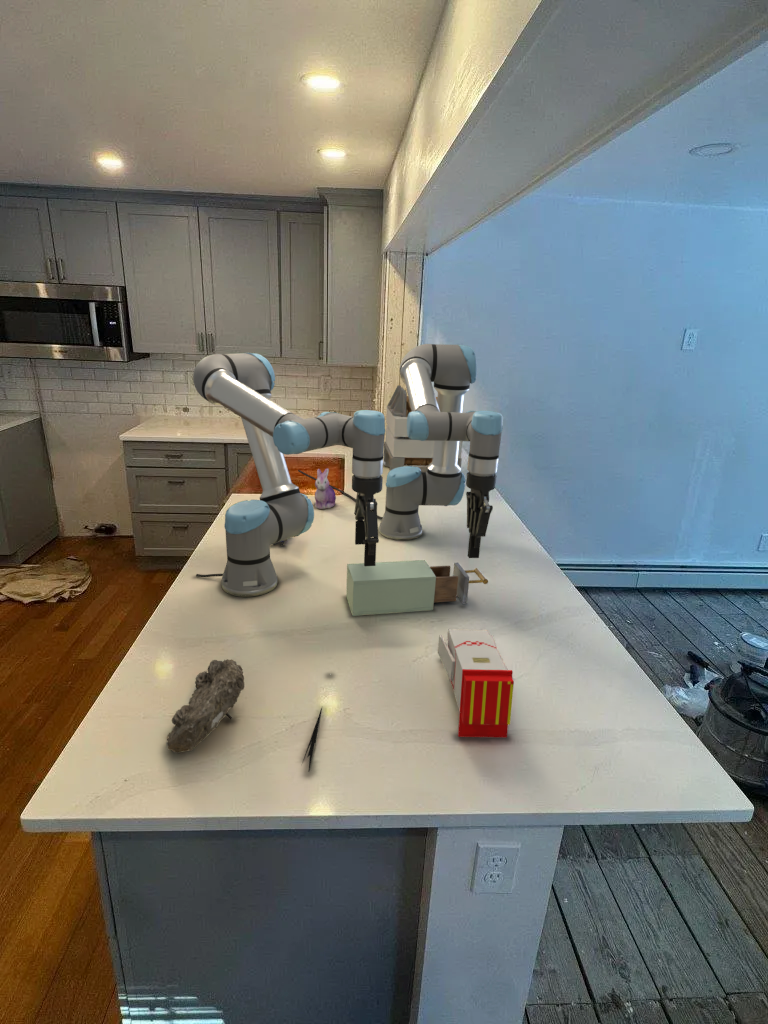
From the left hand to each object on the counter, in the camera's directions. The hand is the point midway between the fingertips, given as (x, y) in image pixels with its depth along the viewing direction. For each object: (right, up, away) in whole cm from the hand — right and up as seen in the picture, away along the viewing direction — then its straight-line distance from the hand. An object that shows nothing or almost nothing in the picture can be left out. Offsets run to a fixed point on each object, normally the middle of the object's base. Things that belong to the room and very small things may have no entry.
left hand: (364, 554), depth 146 cm
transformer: (+22, +30, +129) cm, 134 cm away
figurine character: (-30, +2, +44) cm, 54 cm away
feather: (-7, -29, -37) cm, 48 cm away
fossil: (-28, -28, -38) cm, 55 cm away
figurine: (-18, +13, +78) cm, 82 cm away
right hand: (+29, -1, +7) cm, 30 cm away
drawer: (+19, -12, +9) cm, 25 cm away
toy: (+23, -27, -27) cm, 45 cm away
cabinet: (+6, -14, +7) cm, 17 cm away
